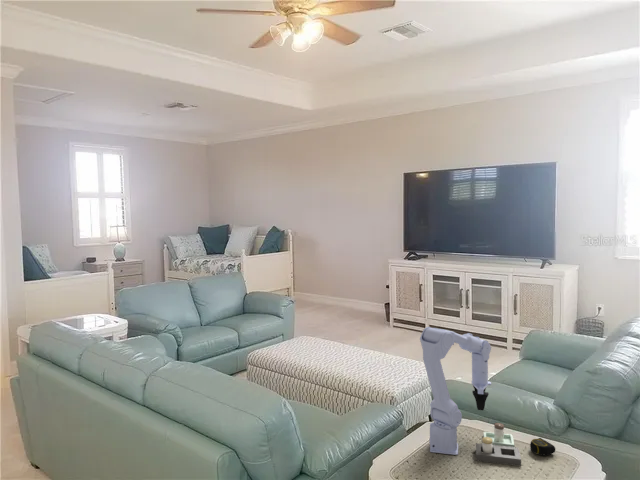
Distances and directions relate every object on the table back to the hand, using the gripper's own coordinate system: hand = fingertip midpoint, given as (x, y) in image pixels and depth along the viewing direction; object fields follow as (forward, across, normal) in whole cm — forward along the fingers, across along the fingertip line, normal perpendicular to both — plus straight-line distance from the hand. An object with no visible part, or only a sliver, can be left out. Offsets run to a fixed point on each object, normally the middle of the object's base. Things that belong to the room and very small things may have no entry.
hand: (480, 405), depth 182 cm
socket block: (+10, -18, -5) cm, 21 cm away
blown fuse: (+10, -7, -6) cm, 13 cm away
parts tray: (+10, -7, -6) cm, 14 cm away
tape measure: (+11, -10, -20) cm, 25 cm away
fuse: (+10, -18, -2) cm, 21 cm away
